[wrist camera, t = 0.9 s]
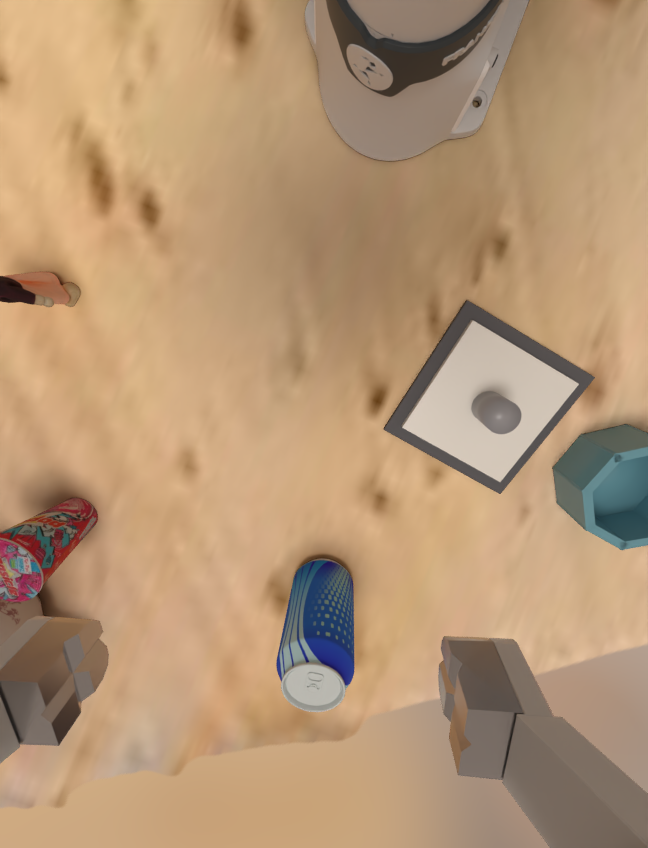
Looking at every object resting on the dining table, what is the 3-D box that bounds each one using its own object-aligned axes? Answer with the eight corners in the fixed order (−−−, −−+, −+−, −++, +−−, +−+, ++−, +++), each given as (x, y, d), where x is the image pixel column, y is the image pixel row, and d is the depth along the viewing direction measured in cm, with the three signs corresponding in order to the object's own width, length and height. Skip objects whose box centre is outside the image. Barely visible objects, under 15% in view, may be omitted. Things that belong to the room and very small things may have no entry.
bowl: (601, 409, 42) (640, 424, 37) (683, 458, 44) (734, 481, 38) (533, 489, 46) (559, 515, 40) (610, 533, 47) (646, 564, 41)
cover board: (470, 320, 40) (488, 321, 35) (574, 382, 41) (606, 392, 36) (401, 425, 44) (407, 440, 39) (497, 479, 45) (516, 500, 40)
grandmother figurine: (87, 276, 42) (-20, 263, 30) (90, 311, 43) (-11, 312, 31) (22, 269, 42) (-110, 254, 30) (27, 304, 43) (-98, 303, 31)
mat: (466, 300, 40) (467, 300, 39) (592, 376, 41) (594, 377, 41) (383, 428, 45) (384, 429, 44) (498, 492, 46) (500, 494, 46)
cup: (90, 479, 50) (14, 530, 39) (119, 531, 52) (55, 593, 41) (34, 496, 51) (-56, 550, 40) (65, 546, 54) (-12, 610, 42)
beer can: (365, 582, 52) (371, 696, 37) (321, 611, 54) (309, 729, 39) (326, 543, 51) (316, 644, 35) (282, 574, 53) (255, 682, 37)
